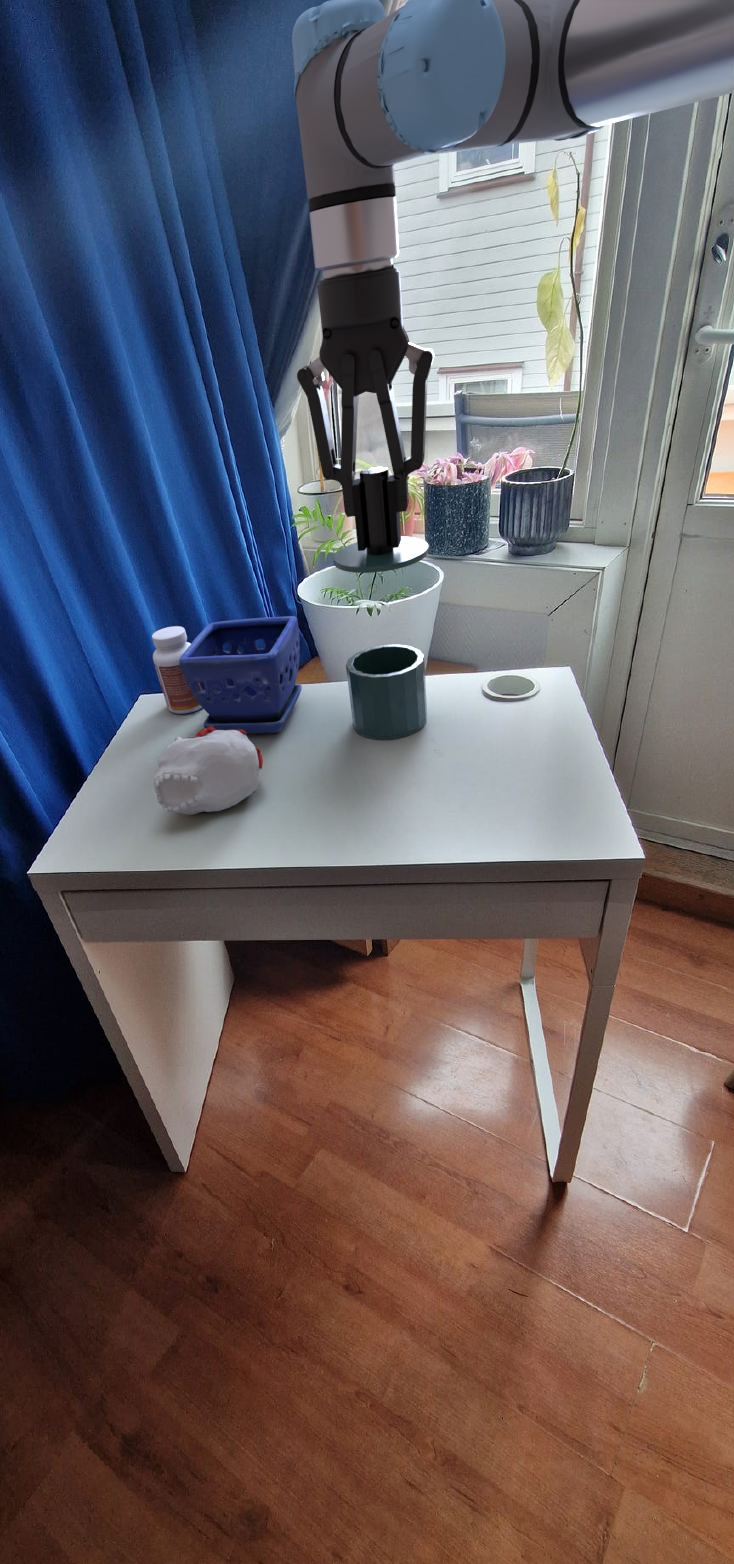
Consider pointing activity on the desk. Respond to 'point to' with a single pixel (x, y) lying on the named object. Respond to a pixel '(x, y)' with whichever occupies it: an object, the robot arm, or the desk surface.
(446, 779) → the desk surface
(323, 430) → the robot arm
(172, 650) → the pill bottle
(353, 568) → the lid
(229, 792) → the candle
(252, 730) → the flower pot
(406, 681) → the pot
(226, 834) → the desk surface
